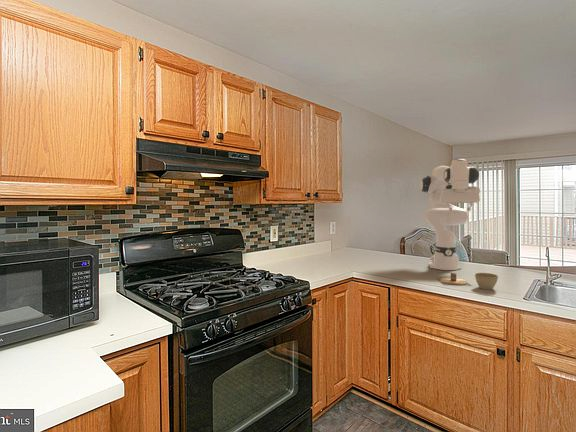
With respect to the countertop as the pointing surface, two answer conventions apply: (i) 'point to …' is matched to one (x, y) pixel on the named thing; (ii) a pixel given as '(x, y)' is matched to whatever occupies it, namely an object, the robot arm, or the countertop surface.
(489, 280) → the olive bowl
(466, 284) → the mat
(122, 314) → the countertop surface
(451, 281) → the lid
